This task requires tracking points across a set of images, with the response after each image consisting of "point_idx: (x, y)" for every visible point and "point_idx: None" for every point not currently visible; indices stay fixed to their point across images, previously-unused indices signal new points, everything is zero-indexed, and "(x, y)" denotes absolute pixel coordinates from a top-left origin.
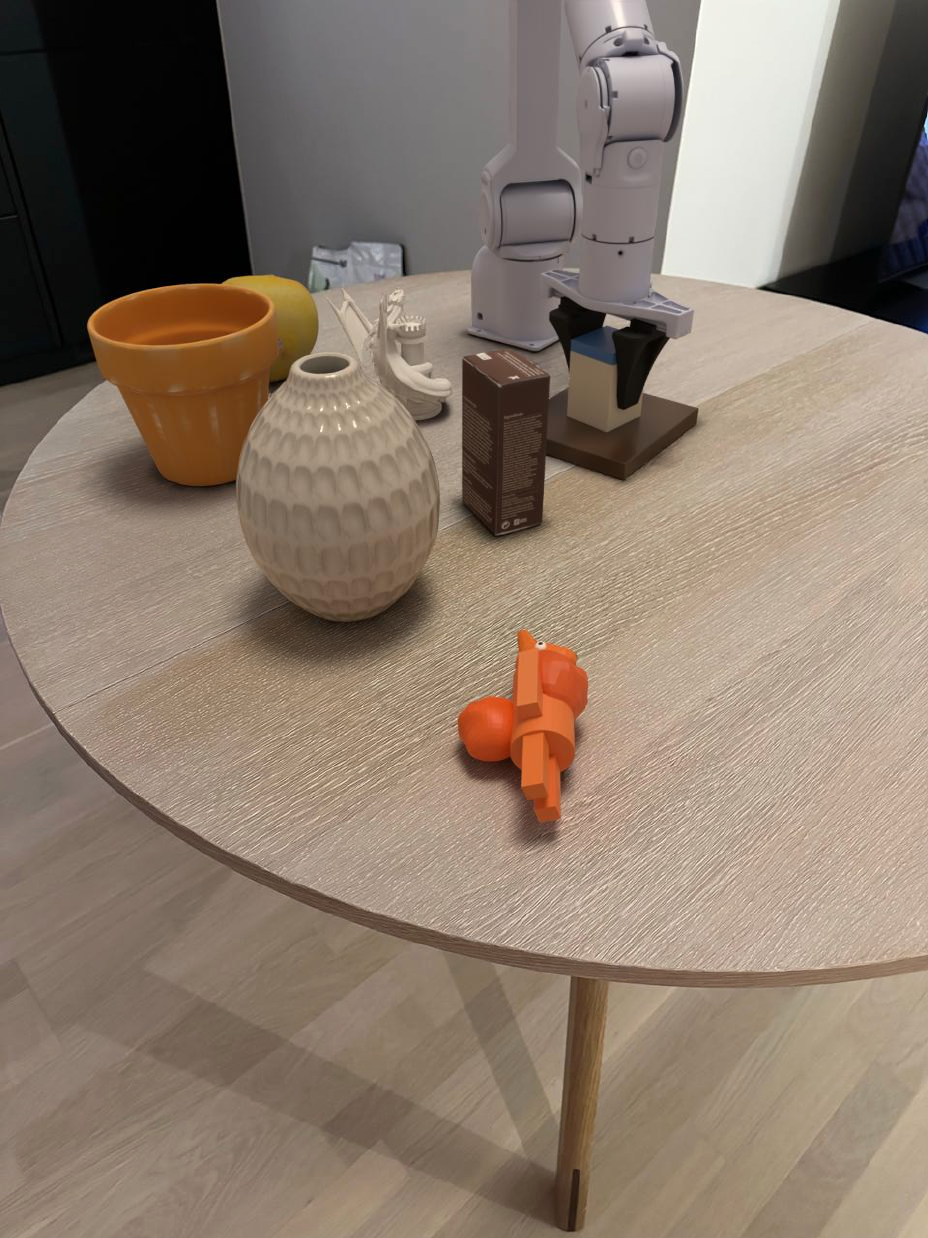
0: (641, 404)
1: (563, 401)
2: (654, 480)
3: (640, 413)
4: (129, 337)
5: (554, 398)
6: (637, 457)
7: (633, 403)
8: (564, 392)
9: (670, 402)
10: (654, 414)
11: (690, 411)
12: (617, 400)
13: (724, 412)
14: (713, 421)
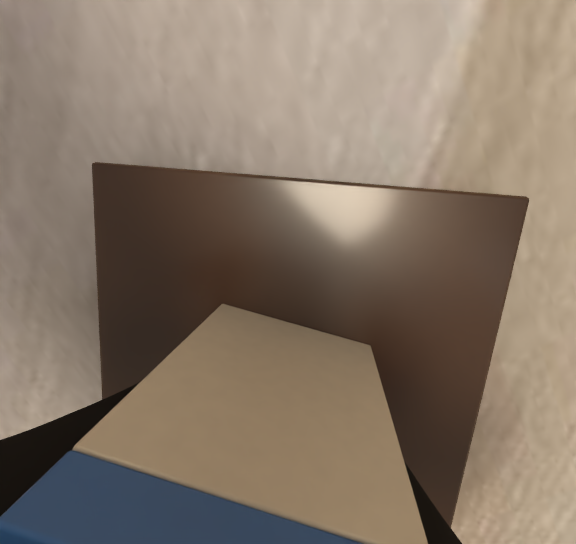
0: (375, 363)
1: (140, 355)
2: (487, 519)
3: (371, 350)
4: None
5: (111, 351)
6: None
7: None
8: (110, 303)
9: (422, 206)
10: (405, 315)
11: (510, 241)
12: None
13: (569, 65)
14: (548, 154)
